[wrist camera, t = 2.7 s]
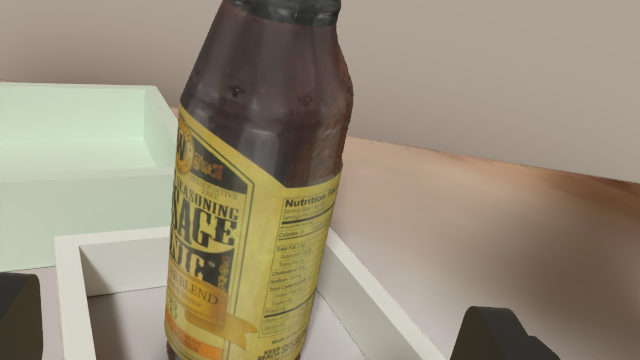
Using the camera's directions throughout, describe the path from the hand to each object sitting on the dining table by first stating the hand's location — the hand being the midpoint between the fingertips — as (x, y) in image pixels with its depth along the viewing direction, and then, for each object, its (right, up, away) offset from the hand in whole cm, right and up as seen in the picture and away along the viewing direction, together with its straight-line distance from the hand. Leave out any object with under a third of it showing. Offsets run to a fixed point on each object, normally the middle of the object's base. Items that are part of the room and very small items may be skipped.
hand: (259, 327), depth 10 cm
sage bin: (-16, +2, +25) cm, 30 cm away
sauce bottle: (-3, -5, +15) cm, 16 cm away
